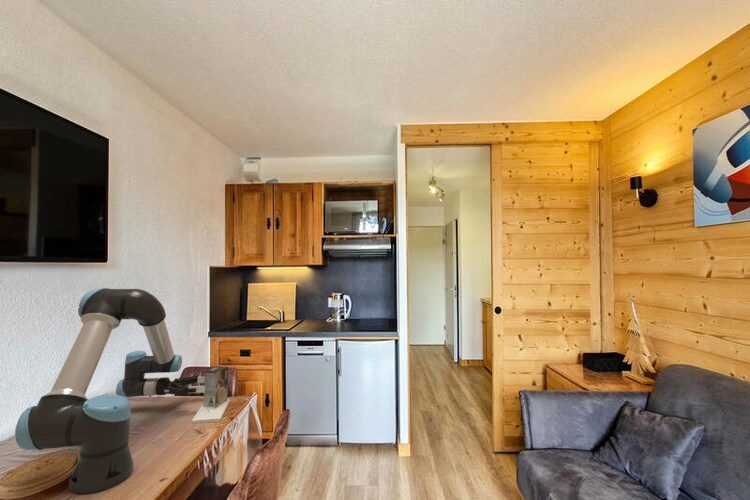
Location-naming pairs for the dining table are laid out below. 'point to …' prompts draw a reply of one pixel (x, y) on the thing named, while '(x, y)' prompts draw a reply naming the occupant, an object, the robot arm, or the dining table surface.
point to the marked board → (210, 413)
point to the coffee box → (215, 386)
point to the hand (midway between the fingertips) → (208, 384)
